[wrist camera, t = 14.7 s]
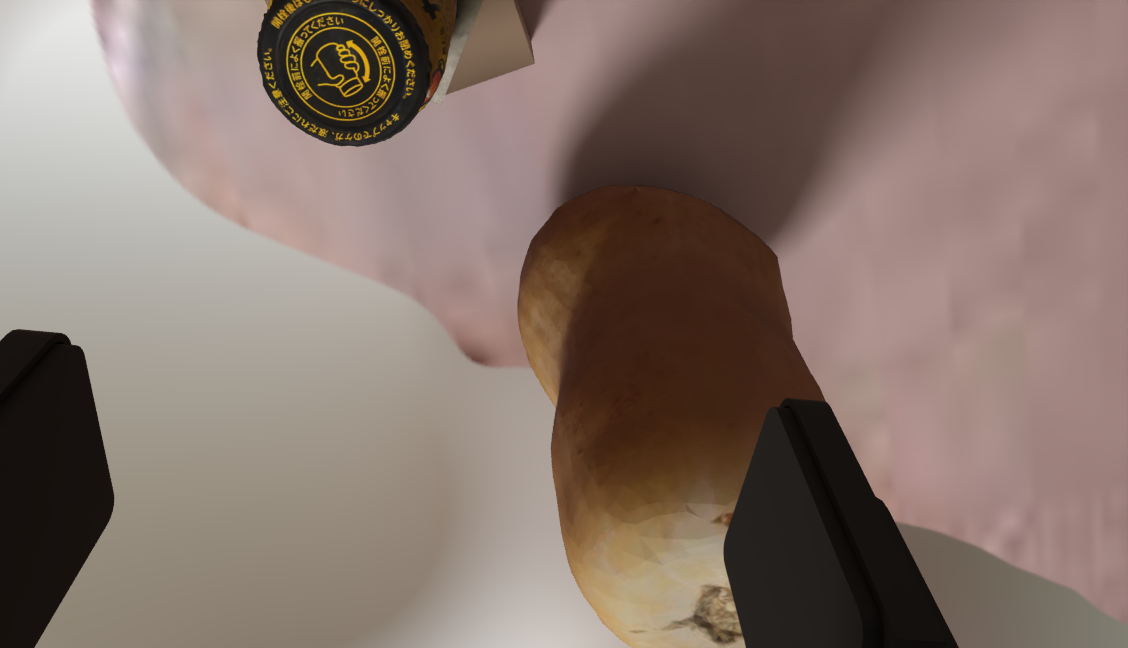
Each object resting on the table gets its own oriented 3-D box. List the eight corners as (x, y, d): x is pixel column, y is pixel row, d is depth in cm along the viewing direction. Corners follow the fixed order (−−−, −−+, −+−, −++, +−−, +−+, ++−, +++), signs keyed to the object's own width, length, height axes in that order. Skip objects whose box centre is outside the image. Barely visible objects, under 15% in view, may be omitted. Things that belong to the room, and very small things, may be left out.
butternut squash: (503, 343, 50) (507, 727, 29) (530, 131, 43) (562, 428, 22) (721, 362, 52) (877, 736, 31) (780, 161, 45) (1033, 462, 24)
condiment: (283, 35, 36) (200, 122, 25) (343, -170, 32) (274, -165, 22) (441, 103, 38) (423, 209, 28) (515, -82, 34) (526, -40, 24)
